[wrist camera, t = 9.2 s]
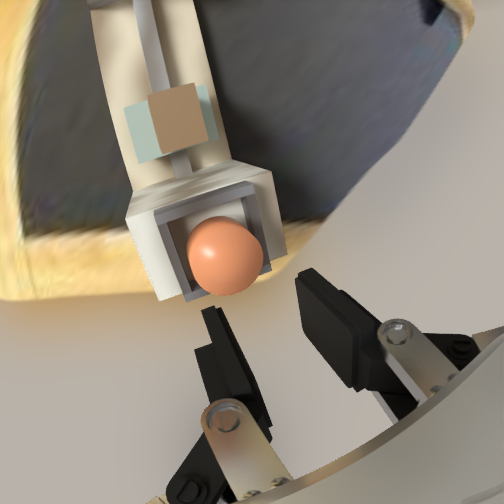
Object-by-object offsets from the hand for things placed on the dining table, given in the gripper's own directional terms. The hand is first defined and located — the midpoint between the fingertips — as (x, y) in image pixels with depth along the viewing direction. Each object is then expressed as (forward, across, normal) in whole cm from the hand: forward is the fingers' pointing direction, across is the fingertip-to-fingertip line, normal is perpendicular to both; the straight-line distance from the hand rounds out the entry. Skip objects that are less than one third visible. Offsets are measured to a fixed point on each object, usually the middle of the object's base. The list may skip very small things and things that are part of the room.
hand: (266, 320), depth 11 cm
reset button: (+8, 0, 0) cm, 8 cm away
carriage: (+19, 0, -8) cm, 21 cm away
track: (+21, 0, -11) cm, 24 cm away
